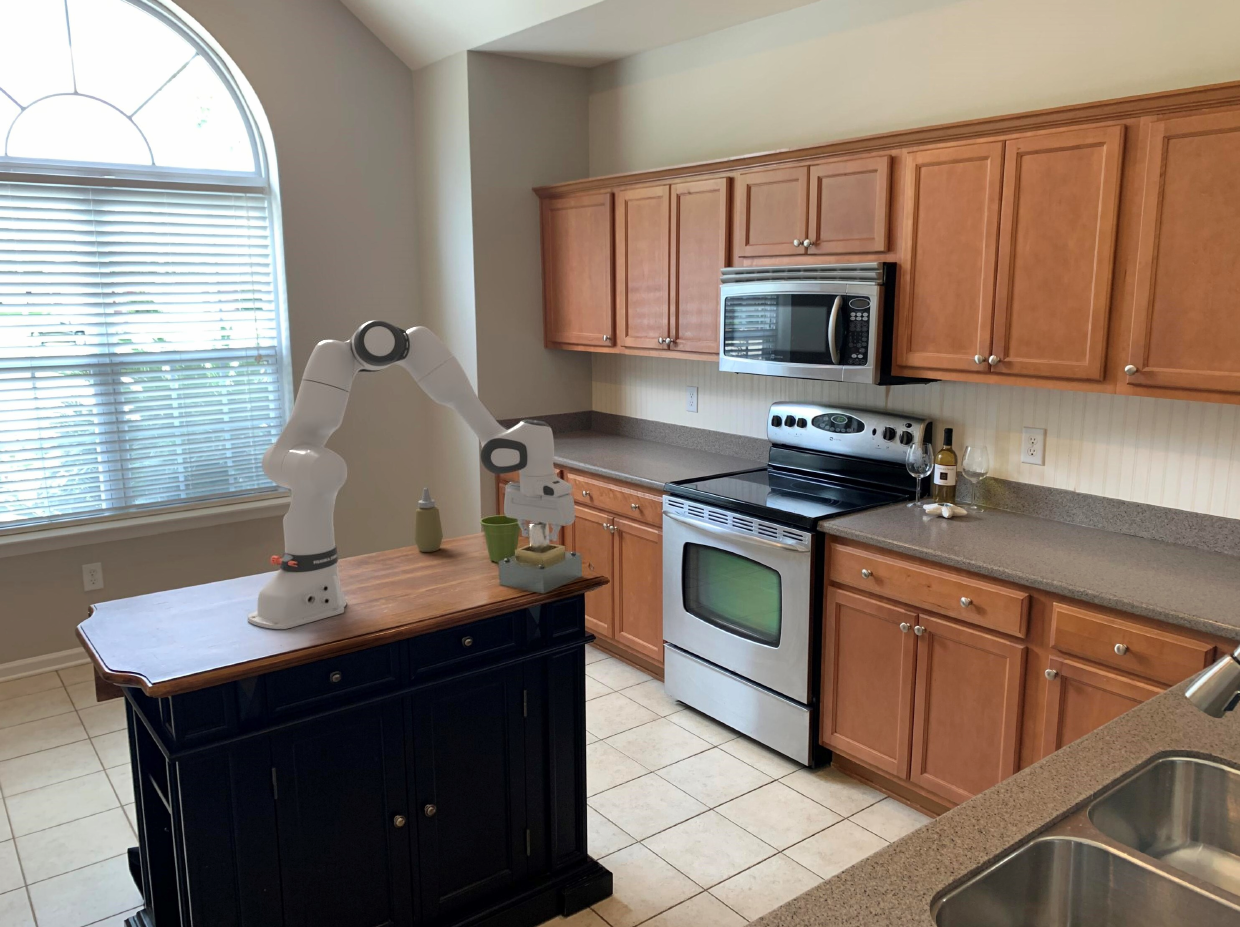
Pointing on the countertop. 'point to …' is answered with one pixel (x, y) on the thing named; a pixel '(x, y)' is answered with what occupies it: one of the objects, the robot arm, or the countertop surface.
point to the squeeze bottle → (427, 524)
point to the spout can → (539, 537)
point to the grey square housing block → (540, 569)
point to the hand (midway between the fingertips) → (539, 538)
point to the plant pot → (501, 536)
